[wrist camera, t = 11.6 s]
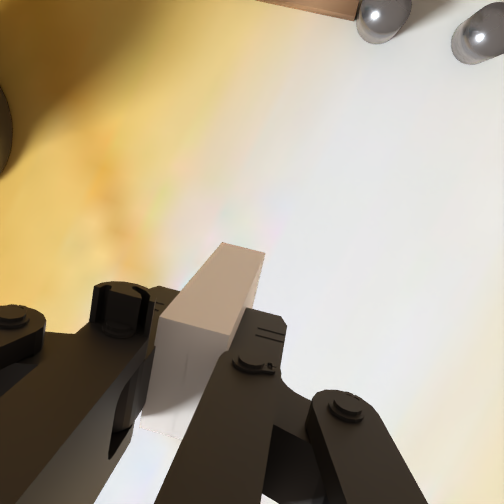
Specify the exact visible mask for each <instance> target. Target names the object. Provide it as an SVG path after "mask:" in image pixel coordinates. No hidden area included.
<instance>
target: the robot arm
mask: <svg viewBox="0 0 504 504" xmlns="http://www.w3.org/2000/svg"><path fill="white" fill-rule="evenodd" d="M11 143H12V121H11V115H10V110H9V107H8V103H7V101H6V98H5V95H4V93H3V91H2V89H1V87H0V173H1V172H2V170H3V168H4V166H5V164H6V162H7V160H8V157H9V153H10V149H11ZM264 257H265V253H263V252H259V251H255V250H251V249H247V248H243V247H239V246H235V245H231V244H227V243H223V242H222V243H221V244H220V246H219V247H218V248H217V249H216V250H215V251H214V253H213V254H212V255H211V256H210V257H209V258H208V260H207V261H206V262H205V263H204V264H203V266H202V267H201V268H200V269H199V270H198V271H197V273H196V274H195V275H194V276H193V277H192V279H191V280H190V281H189V282H188V283H187V284H186V286H185V287H184V288H183V289H182V290H181V291H177V290H173V289H169V288H165V287H162V286H157V287H153V288H150V289H148V288H146V287H143V286H141V285H138V284H134V283H128V282H117V281H111V282H104V283H100V284H98V285H95V286H94V289H93V297H92V304H91V311H90V319H89V322H88V323H87V324H86V325H85V326H84V327H82V328H81V329H80V330H79V331H78V332H77V333H75V334H65V333H54V332H45V328H46V319H45V317H44V315H43V314H42V313H40V312H38V311H37V310H35V309H31V308H28V307H26V306H22V305H19V306H17V305H12V304H11V305H7V306H0V504H94V502H95V500H96V499H97V497H98V495H99V494H100V492H101V490H102V489H103V487H104V485H105V484H106V482H107V480H108V478H109V477H110V475H111V473H112V472H113V470H114V468H115V467H116V465H117V463H118V462H119V460H120V458H121V457H122V455H123V453H124V452H125V450H126V448H127V447H128V445H129V443H130V441H131V437H132V433H133V428H134V422H135V419H136V418H137V416H138V415H139V413H140V412H141V410H142V414H141V420H140V425H139V428H142V429H145V430H149V431H152V432H156V433H159V434H163V435H166V436H170V437H173V438H177V439H180V440H182V442H181V444H180V446H179V448H178V451H177V453H176V455H175V457H174V460H173V462H172V464H171V466H170V469H169V471H168V473H167V475H166V478H165V480H164V482H163V484H162V487H161V489H160V491H159V493H158V496H157V498H156V500H155V502H154V504H260V501H261V495H262V494H264V495H265V496H267V497H269V498H271V499H272V500H274V501H276V502H277V503H279V504H428V503H427V501H426V499H425V497H424V495H423V494H422V492H421V490H420V488H419V486H418V485H417V483H416V481H415V479H414V477H413V476H412V474H411V472H410V470H409V468H408V466H407V465H406V463H405V461H404V459H403V457H402V456H401V454H400V452H399V450H398V448H397V447H396V445H395V443H394V441H393V439H392V438H391V436H390V434H389V432H388V430H387V429H386V427H385V425H384V423H383V421H382V419H381V418H380V416H379V414H378V413H377V412H376V411H375V409H374V408H373V407H372V406H371V405H370V404H368V403H367V402H365V401H364V400H363V399H362V398H360V397H358V396H356V395H353V394H352V393H349V392H343V391H339V390H323V391H320V392H317V393H316V394H315V395H314V397H313V398H312V401H311V400H308V399H306V398H304V397H302V396H301V395H299V394H297V393H295V392H294V391H293V390H291V389H290V388H289V387H287V385H286V384H285V383H284V382H283V381H282V379H281V370H280V365H281V359H282V353H283V347H284V341H285V335H286V329H287V325H286V324H285V322H284V320H283V319H282V317H281V316H277V315H273V314H270V313H266V312H262V311H258V310H254V309H252V307H253V303H254V298H255V294H256V290H257V286H258V282H259V278H260V273H261V269H262V265H263V261H264ZM142 408H143V409H142Z"/></svg>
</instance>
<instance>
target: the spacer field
mask: <svg viewBox="0 0 504 504" xmlns="http://www.w3.org/2000/svg"><path fill="white" fill-rule="evenodd" d="M411 6H412V1H411V0H363V1H362V4H361V7H360V10H359V13H358V16H357V21H356V25H357V30H358V33H359V35H360V36H361V37H362V38H363V39H364V40H365V41H366V42H368V43H371V44H382V43H385V42H387V41H389V40H390V39H391V38H392V37H393V36H394V35H395V34H396V33H397V32H398V30H399V29H400V28H401V27H402V25H403V24H404V23H405V22H406V20H407V19H408V17H409V15H410V12H411ZM451 49H452V52H453V54H454V56H455V57H456V59H457V60H459V61H460V62H462V63H464V64H468V65H474V64H478V63H481V62H484V61H486V60H489V59H491V58H494V57H496V56H499V55H501V54H504V3H503V2H496V3H491V4H489V5H487V6H485V7H483V8H482V9H480V10H479V11H478V12H476V13H475V14H474V15H472V16H471V17H470V18H468V19H467V20H465V21H464V22H463V23H461V24H460V25H459V26H458V27H457V29H456V30H455V32H454V34H453V36H452V40H451Z"/></svg>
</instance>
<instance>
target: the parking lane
mask: <svg viewBox="0 0 504 504" xmlns="http://www.w3.org/2000/svg"><path fill="white" fill-rule="evenodd" d="M257 1H261V2H266V3H271V4H275V5H280V6H285V7H289V8H294V9H299V10H304V11H308V12H313V13H318V14H322V15H327V16H332V17H336V18H341V19H346V20H350V21H354V18H355V15H356V11H357V7H358V3H359V0H257Z"/></svg>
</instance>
